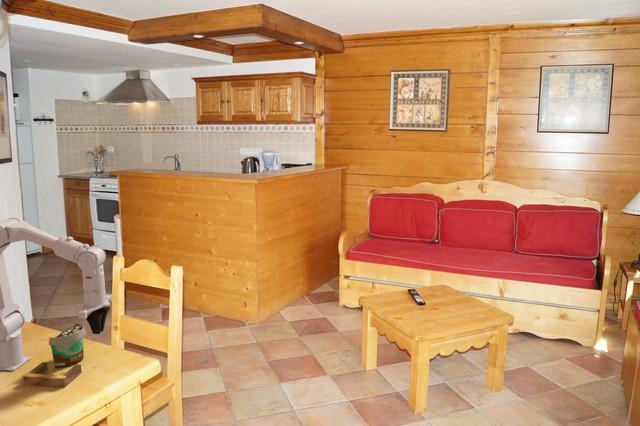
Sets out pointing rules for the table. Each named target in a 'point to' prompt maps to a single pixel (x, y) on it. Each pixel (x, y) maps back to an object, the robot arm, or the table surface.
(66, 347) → the food container
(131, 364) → the table surface
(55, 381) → the dock bay
